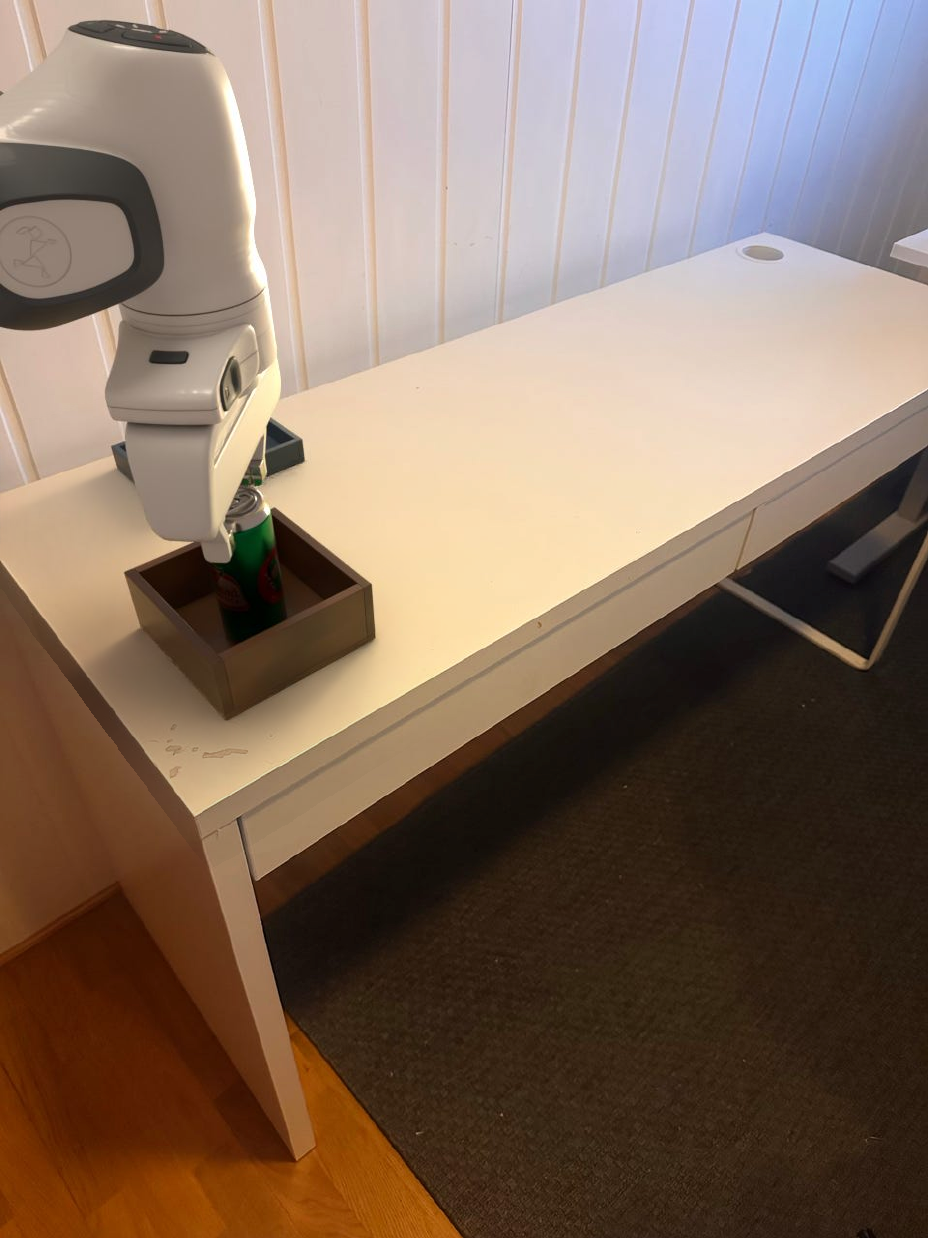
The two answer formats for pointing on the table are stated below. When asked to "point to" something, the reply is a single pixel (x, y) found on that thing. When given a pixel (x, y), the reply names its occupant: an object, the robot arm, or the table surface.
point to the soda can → (249, 570)
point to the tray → (278, 450)
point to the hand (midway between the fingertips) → (238, 516)
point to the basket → (274, 659)
